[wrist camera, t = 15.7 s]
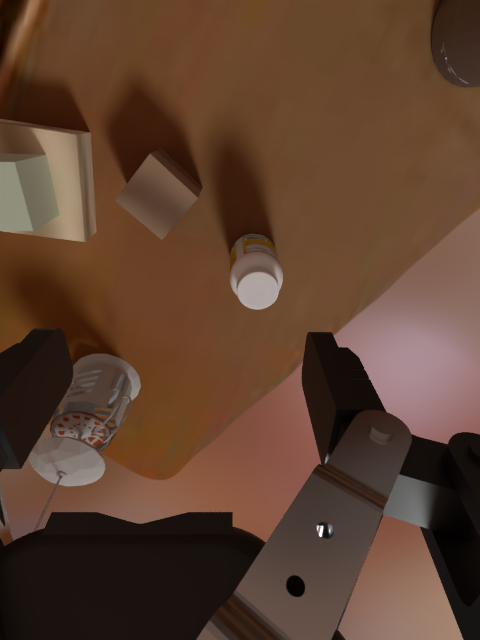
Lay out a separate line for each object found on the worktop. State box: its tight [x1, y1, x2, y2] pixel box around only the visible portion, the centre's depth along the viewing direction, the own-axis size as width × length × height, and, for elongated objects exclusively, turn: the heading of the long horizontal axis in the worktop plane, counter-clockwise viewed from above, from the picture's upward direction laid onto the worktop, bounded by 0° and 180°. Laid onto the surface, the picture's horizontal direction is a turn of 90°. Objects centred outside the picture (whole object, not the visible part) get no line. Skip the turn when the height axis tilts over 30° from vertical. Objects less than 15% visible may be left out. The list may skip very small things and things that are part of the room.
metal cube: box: [115, 148, 202, 240], centre depth 36 cm, size 6×6×6 cm
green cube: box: [0, 153, 60, 231], centre depth 32 cm, size 6×6×6 cm
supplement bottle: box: [230, 234, 283, 309], centre depth 38 cm, size 5×5×10 cm
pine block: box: [0, 119, 96, 242], centre depth 36 cm, size 10×10×4 cm
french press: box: [29, 354, 141, 532], centre depth 40 cm, size 10×12×25 cm
